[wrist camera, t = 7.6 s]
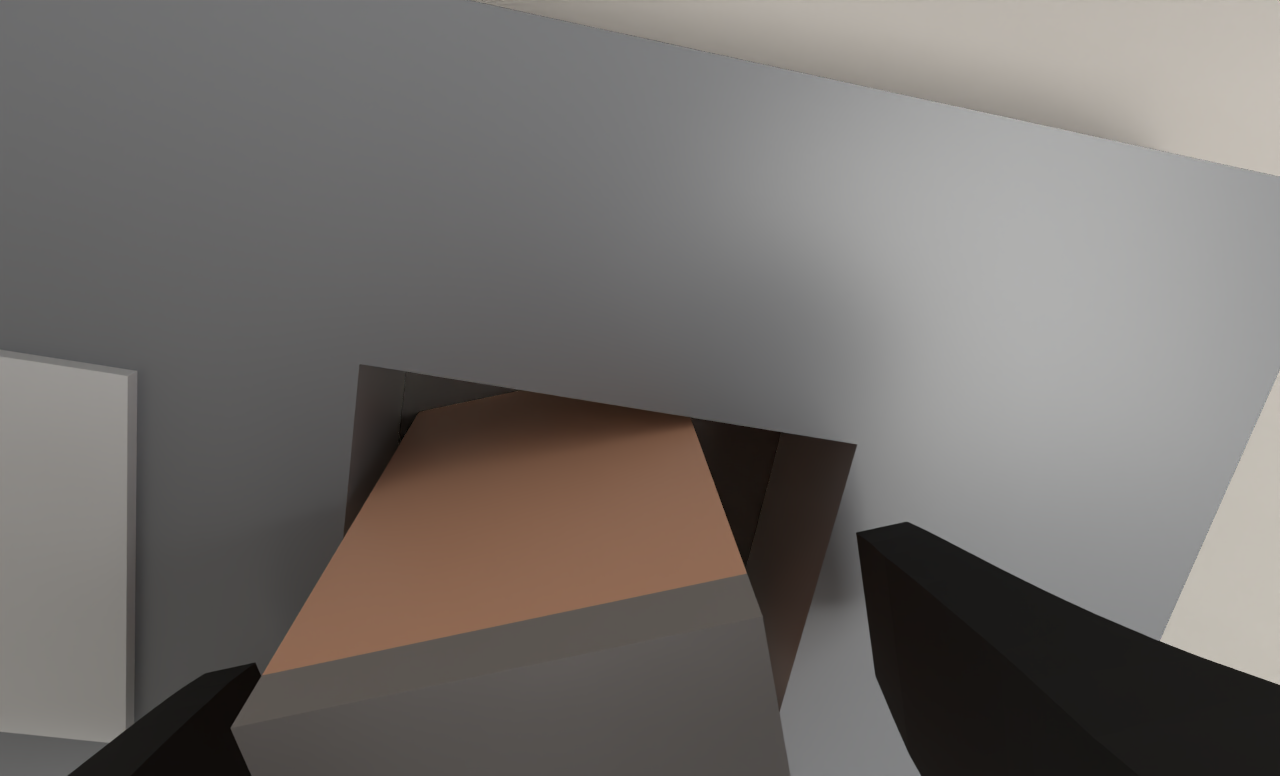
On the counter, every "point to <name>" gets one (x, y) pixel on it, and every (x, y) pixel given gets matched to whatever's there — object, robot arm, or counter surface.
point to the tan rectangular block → (527, 611)
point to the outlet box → (574, 325)
